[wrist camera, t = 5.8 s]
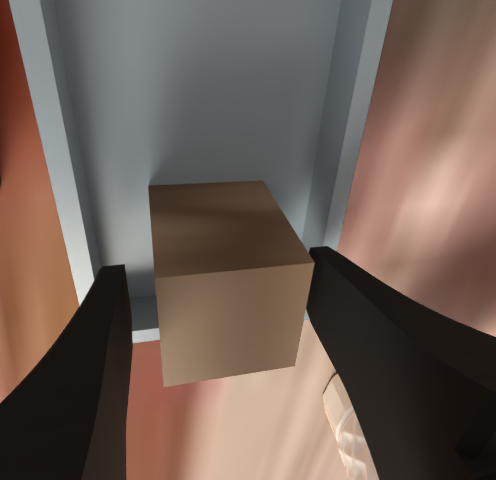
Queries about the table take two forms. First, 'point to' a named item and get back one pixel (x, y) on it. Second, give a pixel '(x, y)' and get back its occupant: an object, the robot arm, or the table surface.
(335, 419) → the white cup
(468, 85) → the table surface
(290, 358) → the walnut block
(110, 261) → the parts tray
